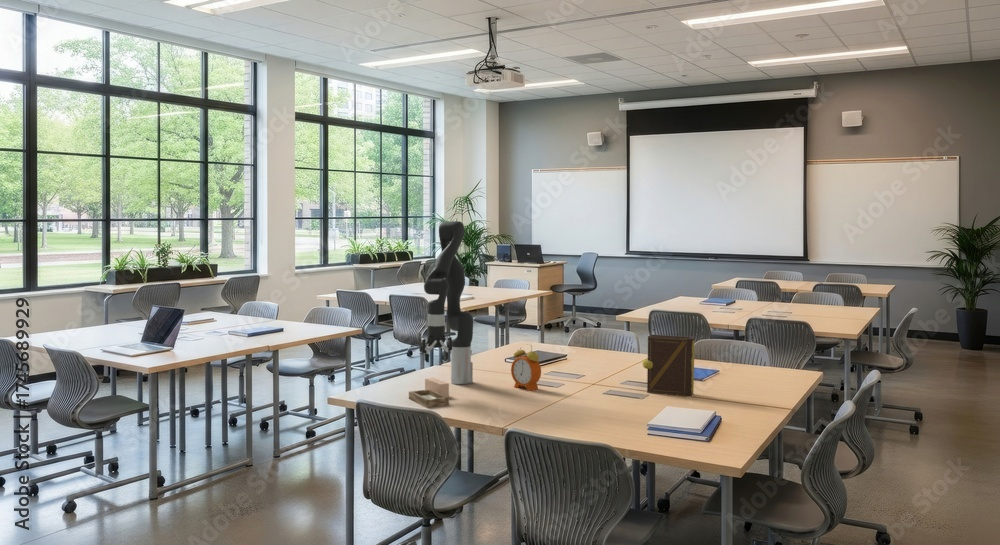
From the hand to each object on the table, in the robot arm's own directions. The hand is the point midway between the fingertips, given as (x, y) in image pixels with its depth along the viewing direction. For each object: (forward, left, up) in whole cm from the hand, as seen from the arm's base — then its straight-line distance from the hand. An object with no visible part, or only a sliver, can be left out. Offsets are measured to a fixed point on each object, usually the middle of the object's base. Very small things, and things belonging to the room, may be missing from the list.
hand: (436, 361), depth 335 cm
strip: (0, 0, -15) cm, 15 cm away
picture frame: (+9, +11, -14) cm, 20 cm away
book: (-89, +48, -15) cm, 102 cm away
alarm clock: (-40, +9, -15) cm, 44 cm away
